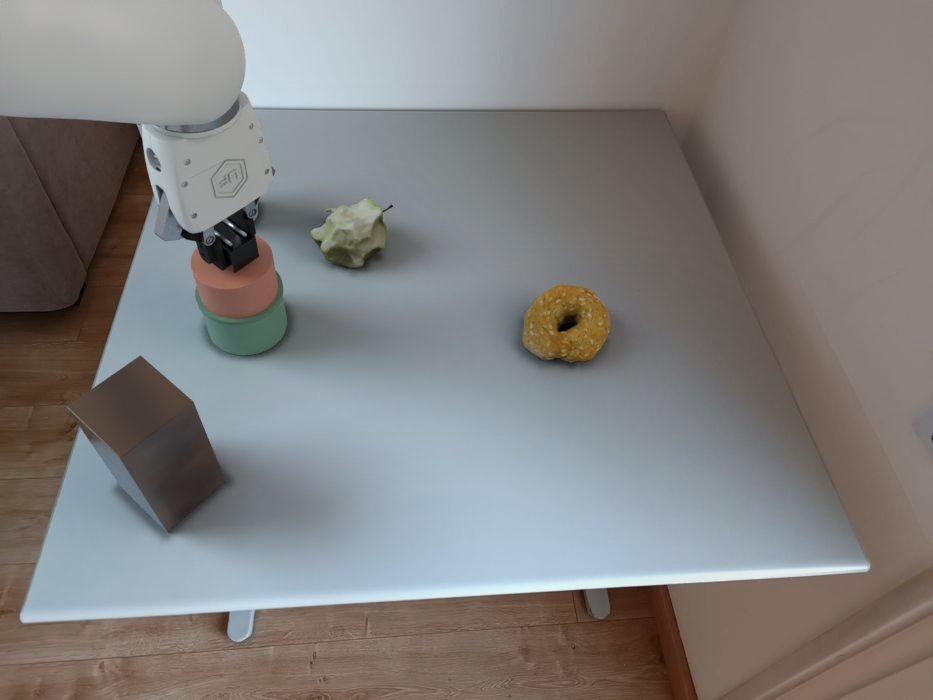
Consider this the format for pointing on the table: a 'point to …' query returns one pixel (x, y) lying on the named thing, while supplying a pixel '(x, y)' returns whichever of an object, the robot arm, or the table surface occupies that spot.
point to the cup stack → (241, 303)
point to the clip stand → (150, 441)
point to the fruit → (352, 233)
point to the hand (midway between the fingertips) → (230, 251)
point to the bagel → (564, 308)
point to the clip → (236, 244)
